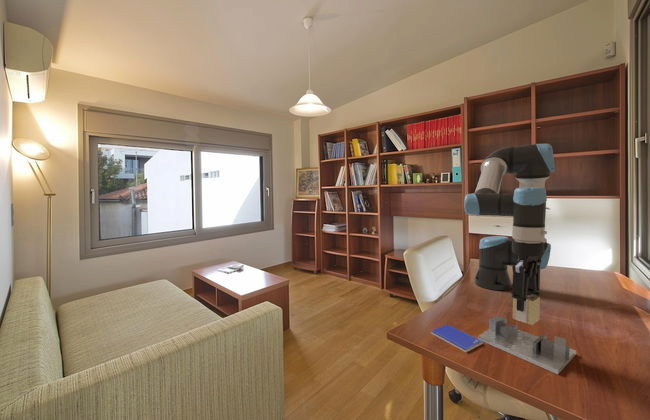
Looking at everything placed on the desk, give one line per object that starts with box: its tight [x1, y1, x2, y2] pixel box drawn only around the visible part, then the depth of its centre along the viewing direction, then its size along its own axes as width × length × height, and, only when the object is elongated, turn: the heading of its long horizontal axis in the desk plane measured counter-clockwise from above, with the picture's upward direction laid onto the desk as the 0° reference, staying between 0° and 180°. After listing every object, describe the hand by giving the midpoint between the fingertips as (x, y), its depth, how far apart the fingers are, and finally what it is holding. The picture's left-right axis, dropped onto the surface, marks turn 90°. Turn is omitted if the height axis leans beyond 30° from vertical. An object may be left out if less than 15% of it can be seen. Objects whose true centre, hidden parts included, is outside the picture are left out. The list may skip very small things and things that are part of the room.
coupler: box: [512, 293, 541, 326], centre depth 81 cm, size 5×5×8 cm
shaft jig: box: [477, 315, 577, 375], centre depth 82 cm, size 20×14×5 cm
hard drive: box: [430, 324, 483, 353], centre depth 88 cm, size 2×8×12 cm
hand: (525, 317), depth 81 cm, fingers closed on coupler, 5 cm apart
